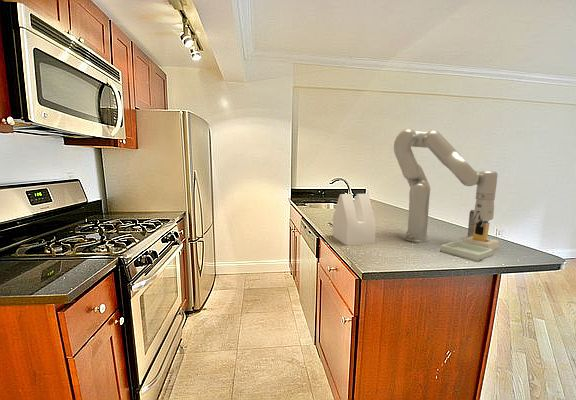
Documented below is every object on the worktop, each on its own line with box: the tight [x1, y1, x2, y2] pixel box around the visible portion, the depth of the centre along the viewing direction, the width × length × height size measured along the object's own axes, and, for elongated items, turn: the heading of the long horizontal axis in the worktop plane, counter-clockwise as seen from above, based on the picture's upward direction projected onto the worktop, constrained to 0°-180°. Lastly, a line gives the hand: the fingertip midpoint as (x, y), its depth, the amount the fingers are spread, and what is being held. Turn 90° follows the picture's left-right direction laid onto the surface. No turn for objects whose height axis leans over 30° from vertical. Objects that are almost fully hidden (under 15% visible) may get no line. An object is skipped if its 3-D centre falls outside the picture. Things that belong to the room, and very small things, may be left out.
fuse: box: [472, 221, 491, 242], centre depth 134 cm, size 3×5×10 cm, turn 32°
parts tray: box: [439, 240, 495, 263], centre depth 125 cm, size 14×16×3 cm
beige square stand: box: [462, 236, 500, 251], centre depth 134 cm, size 11×11×4 cm
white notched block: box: [332, 193, 377, 246], centre depth 146 cm, size 19×15×25 cm
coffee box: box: [466, 209, 481, 238], centre depth 146 cm, size 9×6×16 cm
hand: (480, 233), depth 134 cm, fingers closed on fuse, 3 cm apart
